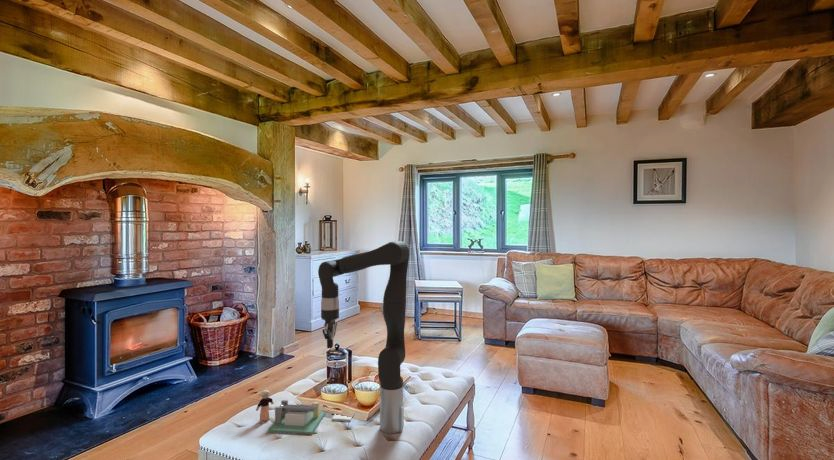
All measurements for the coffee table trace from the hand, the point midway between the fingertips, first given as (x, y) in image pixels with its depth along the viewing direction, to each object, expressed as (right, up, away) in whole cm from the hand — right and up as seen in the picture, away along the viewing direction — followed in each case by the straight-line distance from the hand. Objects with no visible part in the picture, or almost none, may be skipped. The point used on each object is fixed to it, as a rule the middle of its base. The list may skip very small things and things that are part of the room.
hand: (330, 347), depth 166 cm
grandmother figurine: (-26, -29, -4) cm, 39 cm away
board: (-12, -29, -6) cm, 32 cm away
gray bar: (-12, -24, -6) cm, 28 cm away
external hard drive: (+6, -30, +1) cm, 31 cm away
